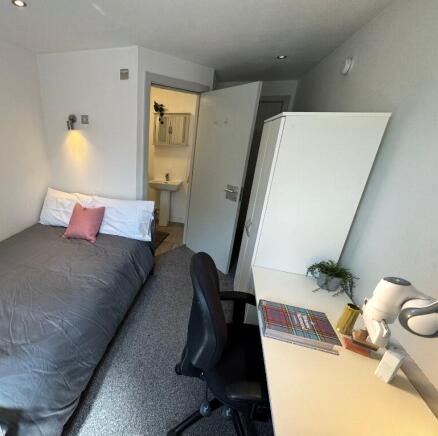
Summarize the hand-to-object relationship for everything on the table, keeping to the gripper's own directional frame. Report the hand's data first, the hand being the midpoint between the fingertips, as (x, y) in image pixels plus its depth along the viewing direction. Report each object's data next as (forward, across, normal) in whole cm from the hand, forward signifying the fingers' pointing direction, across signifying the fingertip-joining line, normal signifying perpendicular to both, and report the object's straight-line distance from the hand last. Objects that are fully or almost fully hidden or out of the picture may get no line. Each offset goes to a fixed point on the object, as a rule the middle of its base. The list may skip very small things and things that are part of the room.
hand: (367, 337), depth 98 cm
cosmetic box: (+7, -10, -5) cm, 13 cm away
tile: (+7, 0, +2) cm, 7 cm away
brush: (+4, 0, 0) cm, 4 cm away
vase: (+7, +10, +5) cm, 13 cm away
